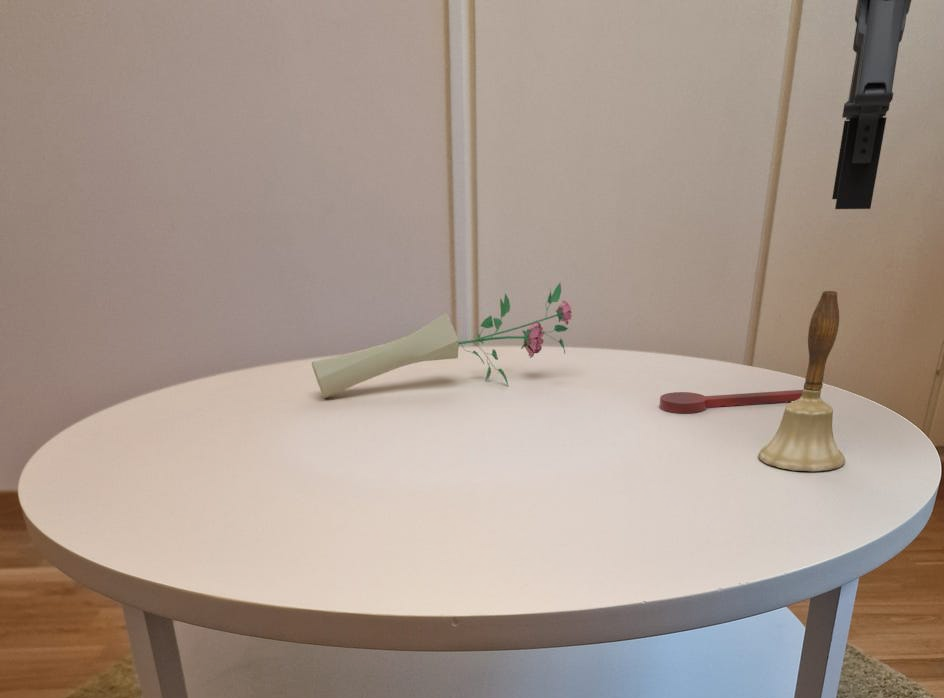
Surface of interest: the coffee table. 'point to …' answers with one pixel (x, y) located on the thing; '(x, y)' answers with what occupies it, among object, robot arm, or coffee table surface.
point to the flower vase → (426, 349)
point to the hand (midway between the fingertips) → (849, 204)
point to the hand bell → (810, 405)
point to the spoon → (721, 400)
